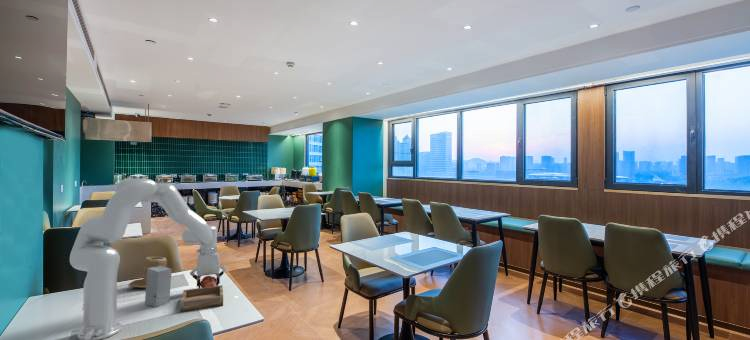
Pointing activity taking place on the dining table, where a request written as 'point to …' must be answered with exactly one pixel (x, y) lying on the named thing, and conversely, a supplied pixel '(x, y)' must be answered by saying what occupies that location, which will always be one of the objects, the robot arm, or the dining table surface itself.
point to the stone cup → (147, 263)
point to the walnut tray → (201, 298)
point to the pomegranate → (208, 282)
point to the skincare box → (158, 286)
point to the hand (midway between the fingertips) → (208, 286)
